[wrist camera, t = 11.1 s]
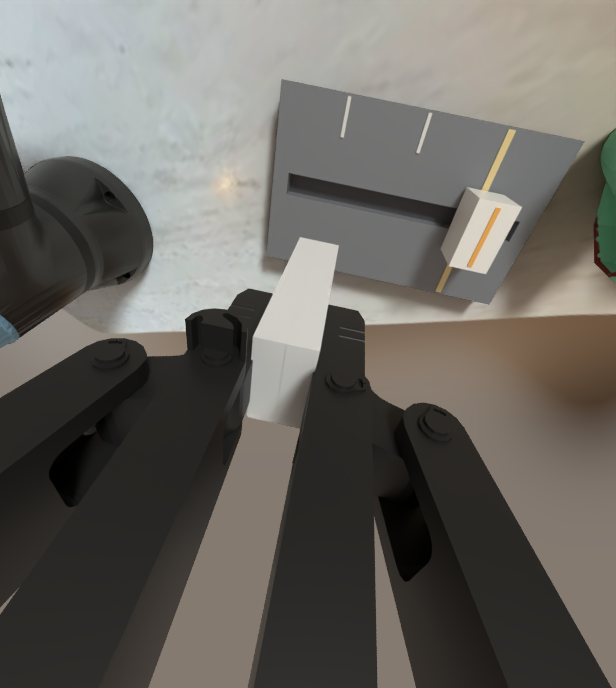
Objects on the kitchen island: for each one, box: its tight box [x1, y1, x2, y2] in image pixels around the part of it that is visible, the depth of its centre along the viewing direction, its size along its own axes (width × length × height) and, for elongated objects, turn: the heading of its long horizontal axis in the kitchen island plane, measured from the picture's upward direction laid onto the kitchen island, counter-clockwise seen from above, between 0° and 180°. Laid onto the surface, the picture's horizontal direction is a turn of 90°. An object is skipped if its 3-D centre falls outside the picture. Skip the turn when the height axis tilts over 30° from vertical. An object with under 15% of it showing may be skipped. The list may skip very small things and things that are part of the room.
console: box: [266, 79, 585, 304], centre depth 33 cm, size 26×16×3 cm, turn 81°
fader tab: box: [441, 187, 522, 274], centre depth 31 cm, size 4×6×6 cm, turn 171°
